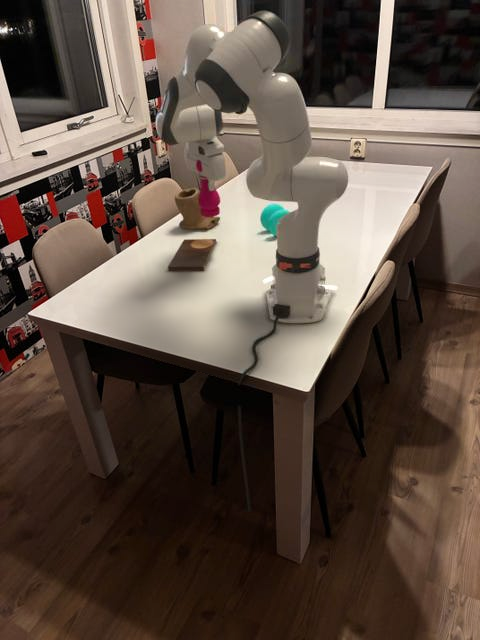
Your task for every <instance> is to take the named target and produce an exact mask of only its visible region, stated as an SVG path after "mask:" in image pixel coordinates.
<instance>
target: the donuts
mask: <svg viewBox="0 0 480 640" xmlns="http://www.w3.org/2000/svg"><path fill="white" fill-rule="evenodd" d="M290 212H291V211H290V210H288V209H285V208H284V207H283V206H282V205H281V204H279V203H270V204H268V205H267V206H265V207H264V208H263V209H262V211H261V213H260V216H259V217H260V219H259V220H260V225H261V226H262V227H263V228H264V229H265V230H268V231H269V232H270V234H271V235H273V236H274V237H277V229H276V227H277V224H278V222H279V220H280V219H281V218H282V217H283V216H284V215H286V214H288V213H290Z"/></svg>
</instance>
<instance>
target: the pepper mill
mask: <svg viewBox="0 0 480 640" xmlns="http://www.w3.org/2000/svg"><path fill="white" fill-rule="evenodd" d="M201 163H202V162H201V161H200V160H197V163H196V168H197V170H198V171H199V172H202V165H201ZM199 178H200V179H201V186H200V189H199V191H200V193H199V196H198V204H199V205H200V206H201V207H202V208H201V209H200V211H201V215H202V216H204V217H218V216H219V215H220V214H221V210H220V204H221V197H220V194H219V192H218V190H217V188H216V187H215V190H213V191H209V190H208V187H207V185H208V184H209V181H208V178H207V177H205V176H203V175H201V174H199Z"/></svg>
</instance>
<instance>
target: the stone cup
mask: <svg viewBox="0 0 480 640" xmlns="http://www.w3.org/2000/svg"><path fill="white" fill-rule="evenodd" d="M199 193H200V189H198V188H196V187H191V188H185V189H181V190H179V191H178V192H177V193H176V194H175V195H174V202H175V205H176V207H177V209H178V211H179V214H180V215H181V217H182V220H181V221H180V222H179V223H178V226H179V227H180V228H182V229H211V228H214V227H215V226H216V225H217V224H218V223H219V222H220V221H221V216H214V217H204V216H202V215H201V211H200V209H201V208H202V207H201V206H200V205H199V204H198V196H199Z"/></svg>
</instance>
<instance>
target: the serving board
mask: <svg viewBox="0 0 480 640" xmlns="http://www.w3.org/2000/svg"><path fill="white" fill-rule="evenodd" d="M217 242H218V241H217V239H216V238H200V239H199V238H195V239H194V238H193V239H191V238H190V239H183V241H182V243H181V244H180V246H179V247H178V249H177V251H176V252H175V254H174V256H173V257H172V259H171V260H170V262H169V264H168V266H167V270H168V272H203V271H205V269H206V267H207V265H208V262H209V260H210V258H211V256H212V254H213V252H214V249H215V247H216V245H217Z"/></svg>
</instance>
